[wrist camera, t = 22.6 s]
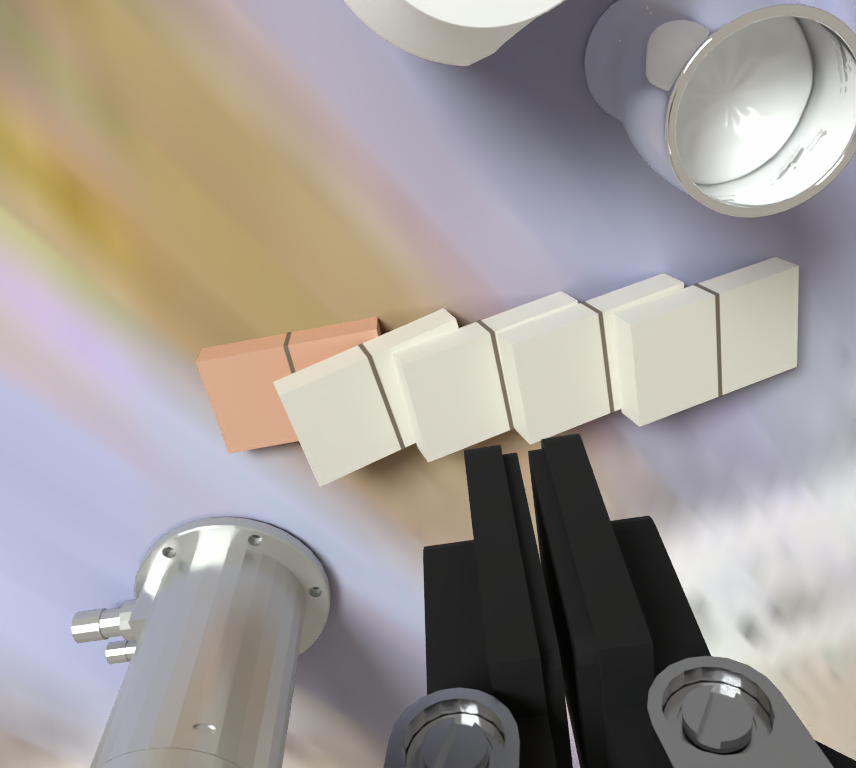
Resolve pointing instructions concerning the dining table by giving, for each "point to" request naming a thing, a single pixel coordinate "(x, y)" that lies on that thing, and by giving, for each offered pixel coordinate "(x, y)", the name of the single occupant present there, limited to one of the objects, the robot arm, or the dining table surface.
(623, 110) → the beer glass
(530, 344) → the domino
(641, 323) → the domino
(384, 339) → the domino
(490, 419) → the domino
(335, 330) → the domino
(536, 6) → the jar
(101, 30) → the dining table surface
